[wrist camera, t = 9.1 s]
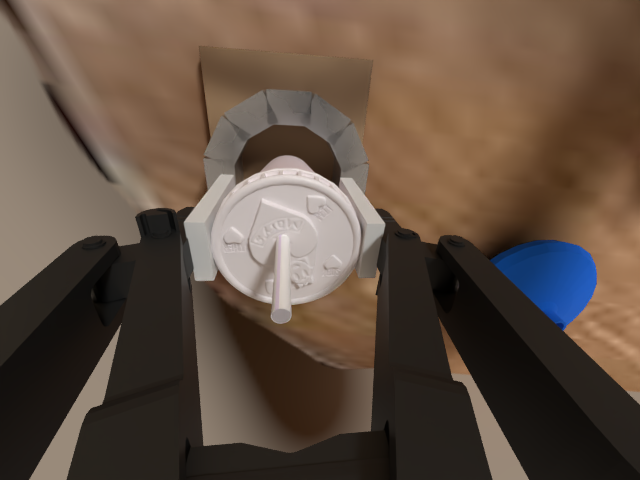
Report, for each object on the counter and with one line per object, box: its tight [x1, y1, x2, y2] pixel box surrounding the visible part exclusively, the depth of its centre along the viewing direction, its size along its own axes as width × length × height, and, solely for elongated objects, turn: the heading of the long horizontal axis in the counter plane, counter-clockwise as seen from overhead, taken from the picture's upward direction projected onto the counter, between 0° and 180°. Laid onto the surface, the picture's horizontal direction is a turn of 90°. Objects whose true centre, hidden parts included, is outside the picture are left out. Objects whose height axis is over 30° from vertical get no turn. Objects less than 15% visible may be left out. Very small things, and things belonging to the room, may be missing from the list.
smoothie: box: [211, 155, 362, 324], centre depth 14 cm, size 6×6×14 cm
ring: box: [203, 89, 369, 195], centre depth 21 cm, size 12×12×4 cm
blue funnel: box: [490, 240, 597, 330], centre depth 31 cm, size 16×16×7 cm
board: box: [199, 46, 373, 182], centre depth 23 cm, size 16×12×1 cm
